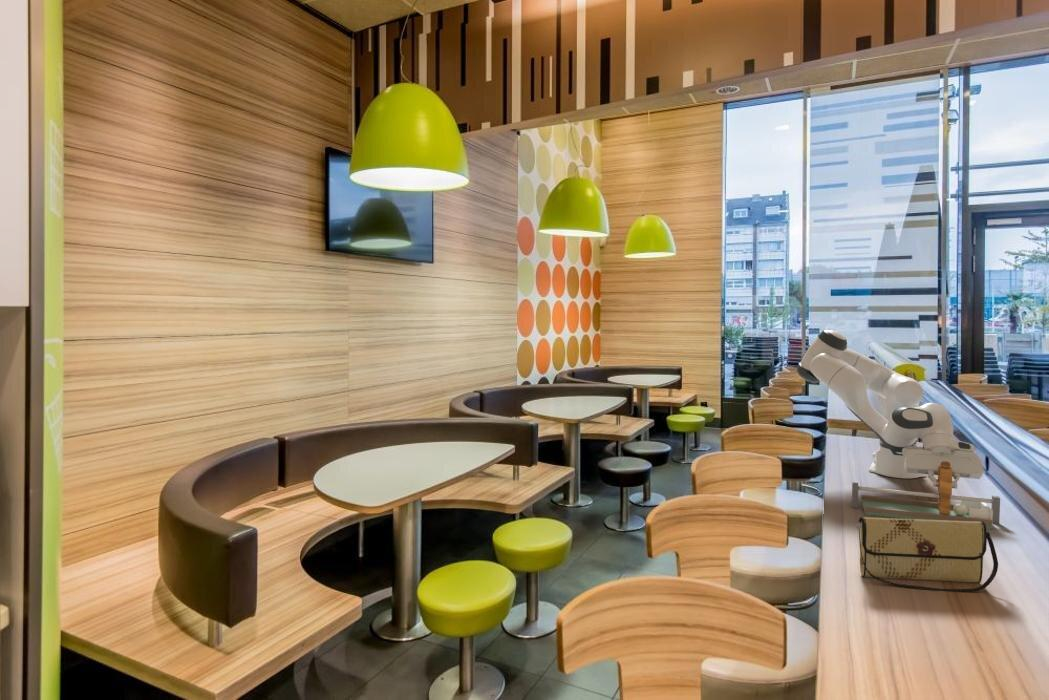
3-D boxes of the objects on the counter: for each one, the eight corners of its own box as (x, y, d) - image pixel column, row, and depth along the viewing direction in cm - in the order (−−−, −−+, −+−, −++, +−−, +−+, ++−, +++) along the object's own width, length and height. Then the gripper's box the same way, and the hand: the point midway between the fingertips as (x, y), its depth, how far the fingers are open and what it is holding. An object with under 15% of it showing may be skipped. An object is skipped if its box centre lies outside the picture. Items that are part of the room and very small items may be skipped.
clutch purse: (863, 587, 135) (864, 524, 134) (851, 573, 142) (852, 514, 141) (1005, 595, 130) (1007, 530, 129) (986, 580, 137) (988, 519, 136)
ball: (950, 503, 179) (964, 501, 177) (953, 514, 179) (967, 513, 177) (953, 506, 176) (967, 505, 174) (956, 518, 176) (970, 516, 174)
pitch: (850, 500, 195) (850, 477, 194) (991, 516, 179) (992, 490, 178) (853, 513, 183) (854, 488, 183) (1005, 530, 167) (1006, 503, 166)
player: (936, 509, 181) (938, 458, 180) (948, 510, 180) (949, 459, 178) (939, 513, 177) (941, 461, 176) (951, 514, 176) (953, 462, 175)
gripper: (902, 440, 188) (906, 477, 180) (980, 445, 179) (988, 485, 171) (900, 450, 192) (904, 487, 184) (976, 456, 183) (983, 495, 175)
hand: (945, 486), depth 177 cm, fingers closed on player, 3 cm apart
